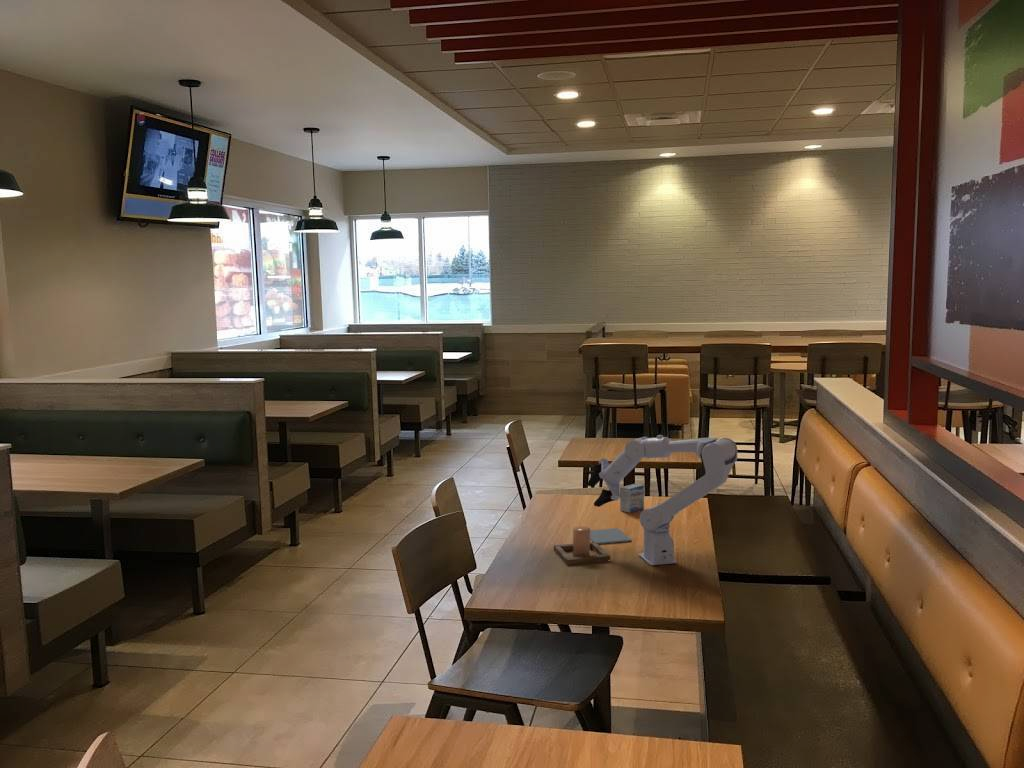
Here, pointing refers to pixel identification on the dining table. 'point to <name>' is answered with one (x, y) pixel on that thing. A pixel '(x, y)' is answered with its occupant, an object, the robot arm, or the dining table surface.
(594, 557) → the frame
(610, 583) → the dining table surface
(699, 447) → the robot arm
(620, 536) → the rubber mat
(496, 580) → the dining table surface
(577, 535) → the terracotta cylinder
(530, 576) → the dining table surface
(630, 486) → the medicine box
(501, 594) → the dining table surface
